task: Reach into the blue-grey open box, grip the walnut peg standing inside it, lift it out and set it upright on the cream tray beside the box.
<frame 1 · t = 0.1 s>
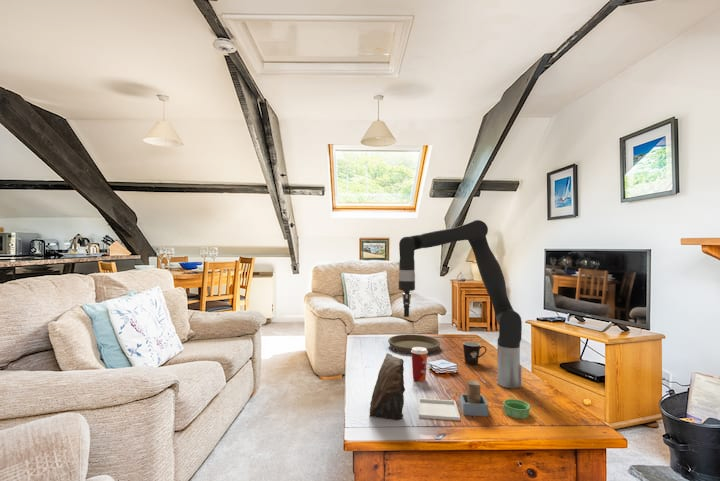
hand: (406, 315, 169), 29 cm above the table, tool pointing down, fingers open, 8 cm apart
ramekin: (516, 416, 133), on the table
blue-grey open box: (473, 412, 135), on the table
walnut peg: (473, 410, 135), point 1 cm above the table, touching blue-grey open box
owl: (385, 413, 134), on the table
plant saucer: (414, 348, 221), on the table
coffee mug: (474, 363, 192), on the table
cream tray: (437, 412, 134), on the table
paper cup: (419, 379, 168), on the table
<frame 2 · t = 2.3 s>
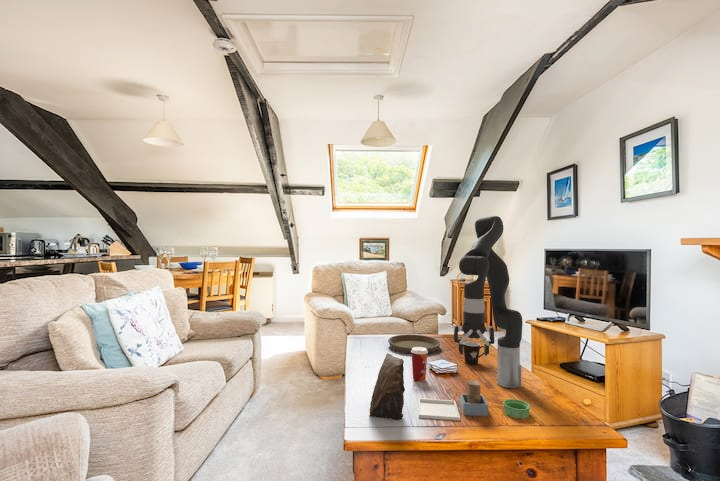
hand: (473, 354, 135), 21 cm above the table, tool pointing down, fingers open, 8 cm apart
nothing on the table moved.
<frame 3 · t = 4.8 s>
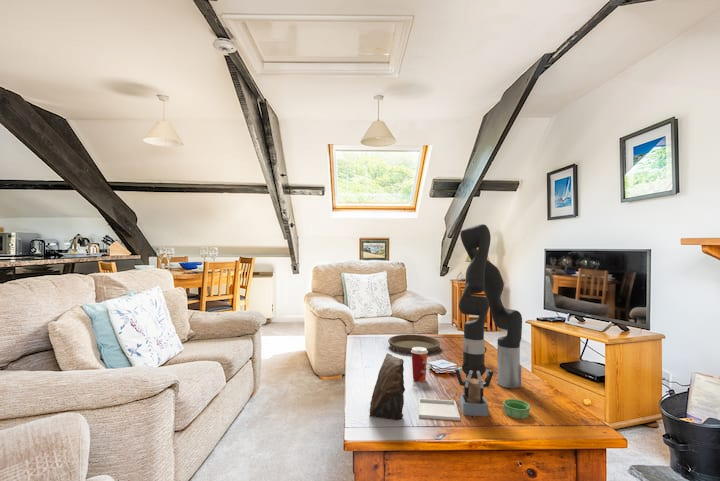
hand: (473, 397, 135), 6 cm above the table, tool pointing down, fingers closed on walnut peg, 4 cm apart
walnut peg: (473, 410, 135), point 1 cm above the table, touching blue-grey open box, gripper
everything else where it was.
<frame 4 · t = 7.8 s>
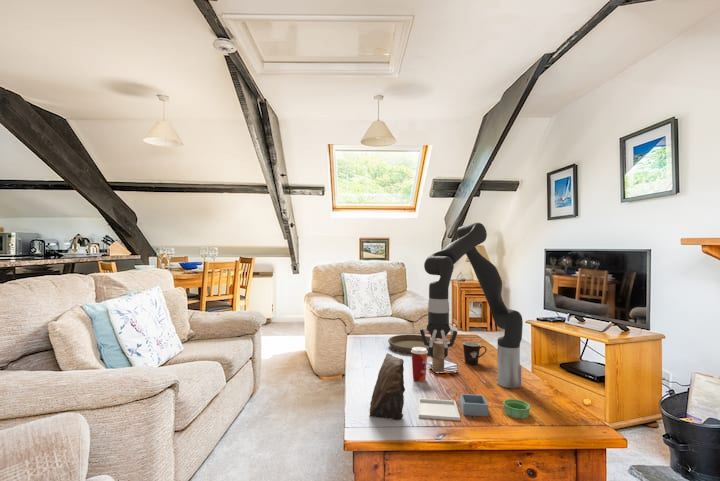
hand: (438, 357, 135), 20 cm above the table, tool pointing down, fingers closed on walnut peg, 4 cm apart
walnut peg: (438, 370, 135), point 16 cm above the table, touching gripper
everything else where it was.
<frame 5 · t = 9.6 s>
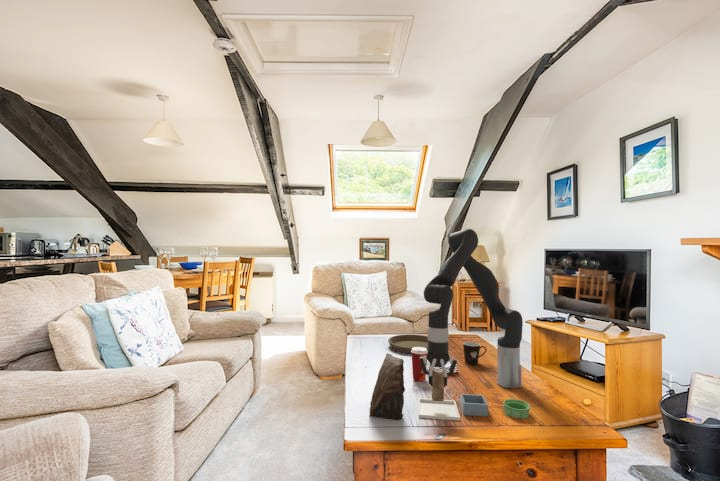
hand: (437, 385, 135), 10 cm above the table, tool pointing down, fingers closed on walnut peg, 4 cm apart
walnut peg: (437, 398, 135), point 5 cm above the table, touching gripper
everything else where it was.
when the fingers open (7 cm above the table, at t = 11.0 s): walnut peg drops 1 cm, resting on cream tray.
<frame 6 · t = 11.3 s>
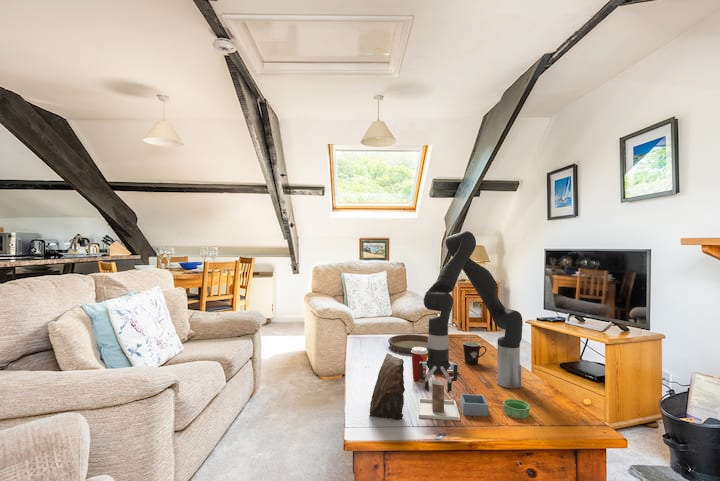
hand: (437, 391, 135), 8 cm above the table, tool pointing down, fingers open, 7 cm apart
walnut peg: (437, 410, 134), point 1 cm above the table, touching cream tray
everything else where it was.
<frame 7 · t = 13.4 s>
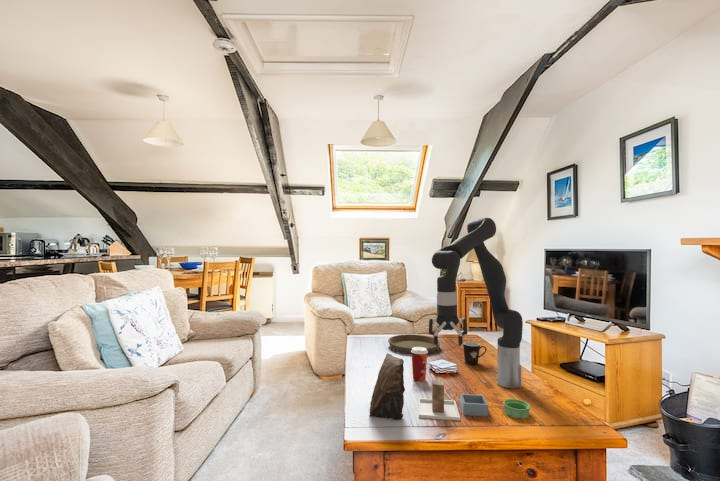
hand: (448, 345, 140), 23 cm above the table, tool pointing down, fingers open, 8 cm apart
nothing on the table moved.
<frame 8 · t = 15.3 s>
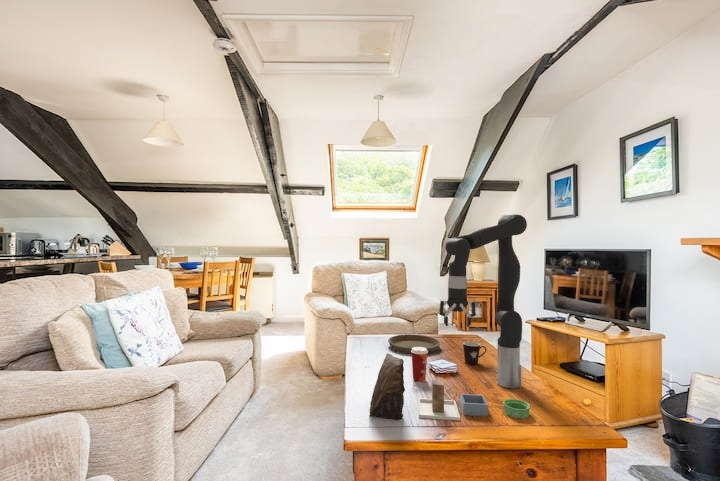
hand: (457, 326, 151), 28 cm above the table, tool pointing down, fingers open, 8 cm apart
nothing on the table moved.
at the end: walnut peg inside the target area on the cream tray (0.0 cm from its centre), point 1.0 cm above the cream tray's base; walnut peg tilted 0°; the gripper is holding nothing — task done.
